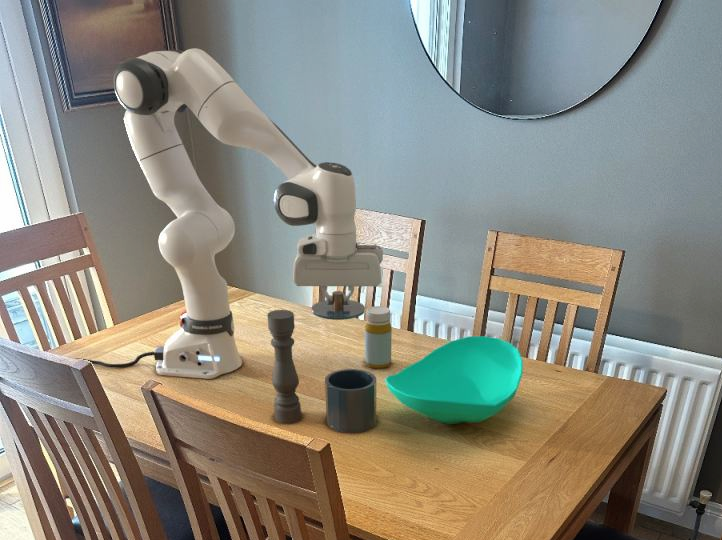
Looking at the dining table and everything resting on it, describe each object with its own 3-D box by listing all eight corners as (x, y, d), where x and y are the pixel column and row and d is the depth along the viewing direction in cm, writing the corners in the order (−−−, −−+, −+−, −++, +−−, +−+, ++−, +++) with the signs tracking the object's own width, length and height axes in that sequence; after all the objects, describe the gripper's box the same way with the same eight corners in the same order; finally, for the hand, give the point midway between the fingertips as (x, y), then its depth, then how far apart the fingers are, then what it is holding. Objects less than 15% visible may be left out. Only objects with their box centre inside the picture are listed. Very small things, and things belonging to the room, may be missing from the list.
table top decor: (447, 374, 193) (450, 325, 186) (542, 402, 180) (550, 351, 172) (355, 431, 167) (354, 377, 159) (458, 469, 154) (463, 413, 146)
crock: (325, 433, 166) (324, 390, 160) (327, 409, 176) (326, 368, 170) (376, 432, 167) (376, 390, 160) (375, 409, 176) (375, 368, 170)
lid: (310, 322, 167) (309, 301, 164) (313, 303, 177) (312, 284, 174) (365, 322, 167) (365, 301, 165) (364, 303, 178) (364, 284, 175)
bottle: (392, 359, 201) (392, 306, 192) (389, 369, 195) (390, 315, 187) (367, 358, 202) (366, 305, 193) (363, 368, 196) (363, 314, 187)
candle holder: (305, 413, 174) (299, 311, 160) (294, 425, 169) (287, 320, 155) (281, 409, 176) (273, 307, 161) (270, 421, 171) (261, 317, 156)
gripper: (382, 239, 166) (382, 299, 174) (292, 239, 165) (296, 299, 173) (383, 247, 161) (382, 308, 169) (290, 247, 160) (294, 308, 168)
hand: (338, 304), depth 171 cm, fingers closed on lid, 2 cm apart
